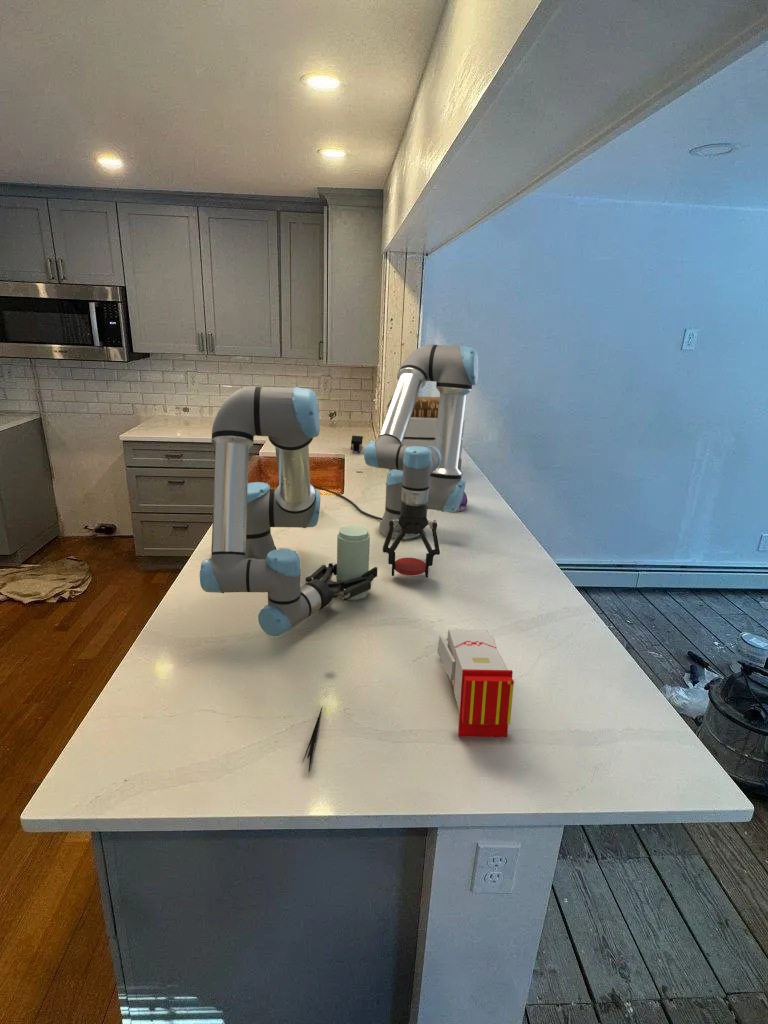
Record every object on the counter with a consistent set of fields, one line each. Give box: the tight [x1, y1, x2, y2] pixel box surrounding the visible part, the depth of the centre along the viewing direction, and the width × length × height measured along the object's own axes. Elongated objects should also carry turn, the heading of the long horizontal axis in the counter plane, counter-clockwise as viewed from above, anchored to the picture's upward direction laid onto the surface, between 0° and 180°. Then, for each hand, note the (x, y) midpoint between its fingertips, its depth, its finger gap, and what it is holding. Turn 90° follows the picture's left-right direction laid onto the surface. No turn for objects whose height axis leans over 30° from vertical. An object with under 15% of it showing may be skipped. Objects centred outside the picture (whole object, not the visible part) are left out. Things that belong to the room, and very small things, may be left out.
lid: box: [394, 557, 426, 577], centre depth 165 cm, size 9×9×2 cm
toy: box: [437, 628, 515, 738], centre depth 117 cm, size 12×13×30 cm
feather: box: [301, 673, 332, 771], centre depth 108 cm, size 2×28×2 cm
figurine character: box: [350, 435, 364, 454], centre depth 309 cm, size 7×8×15 cm
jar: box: [336, 524, 371, 601], centre depth 155 cm, size 9×9×18 cm
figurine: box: [454, 471, 468, 513], centre depth 225 cm, size 9×10×15 cm
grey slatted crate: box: [385, 395, 465, 472], centre depth 268 cm, size 34×33×41 cm
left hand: (362, 567), depth 159 cm, fingers closed on jar, 9 cm apart
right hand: (409, 574), depth 166 cm, fingers closed on lid, 9 cm apart
